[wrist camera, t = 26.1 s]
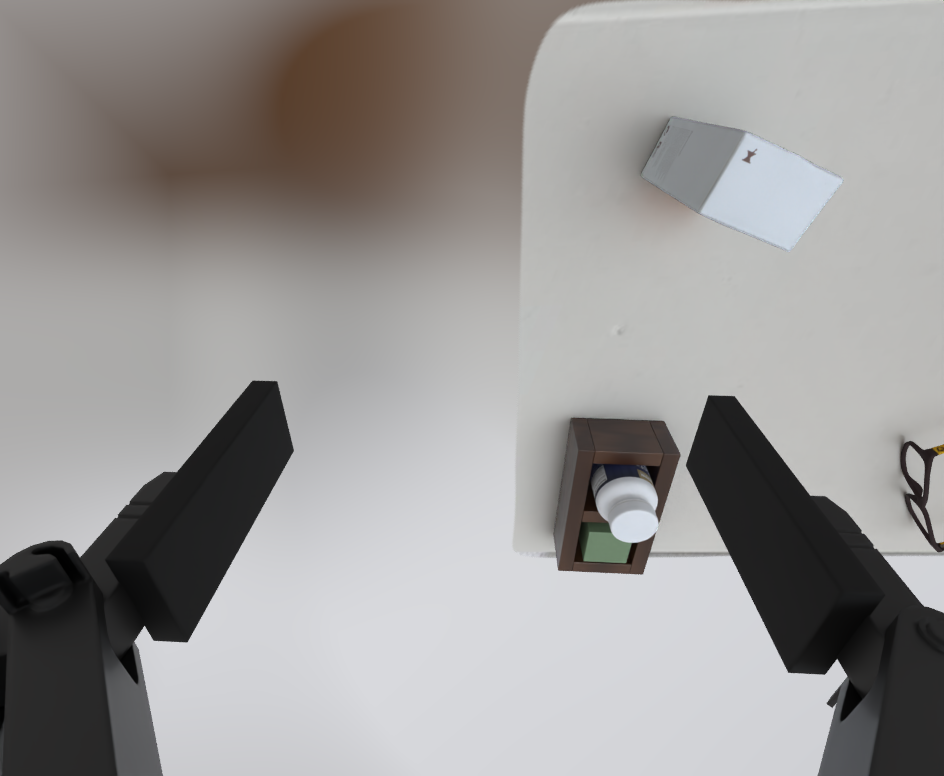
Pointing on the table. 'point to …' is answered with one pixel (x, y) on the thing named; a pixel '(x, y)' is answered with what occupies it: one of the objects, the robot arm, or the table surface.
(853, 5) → the table surface
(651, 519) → the pill bottle
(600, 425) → the wooden cubby shelf
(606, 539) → the peg
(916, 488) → the eyeglasses
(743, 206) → the cosmetic box
